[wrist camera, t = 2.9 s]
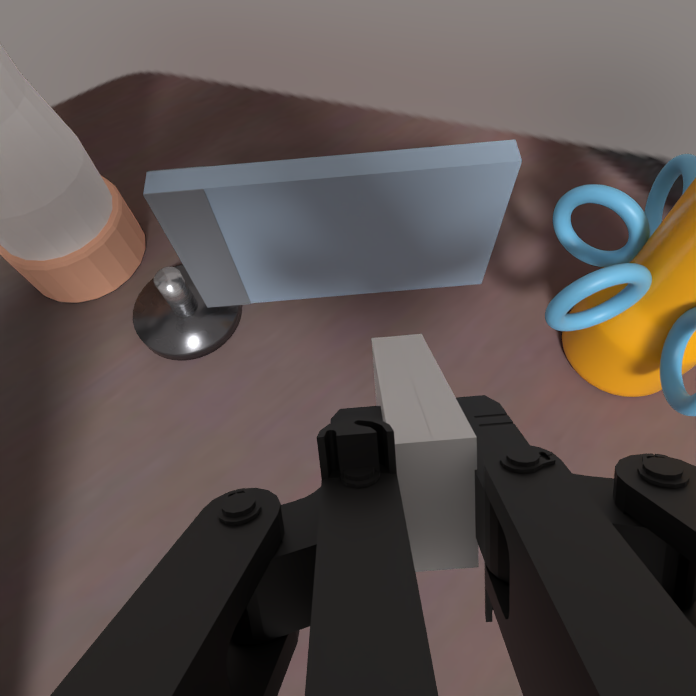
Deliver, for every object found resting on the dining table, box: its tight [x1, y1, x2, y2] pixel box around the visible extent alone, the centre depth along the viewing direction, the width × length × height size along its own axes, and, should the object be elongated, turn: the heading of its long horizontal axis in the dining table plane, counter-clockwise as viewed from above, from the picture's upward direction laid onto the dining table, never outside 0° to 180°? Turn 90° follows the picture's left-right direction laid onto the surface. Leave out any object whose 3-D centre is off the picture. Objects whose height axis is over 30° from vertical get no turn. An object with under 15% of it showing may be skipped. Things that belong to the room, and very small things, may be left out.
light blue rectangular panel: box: [143, 140, 522, 308], centre depth 24 cm, size 15×1×8 cm, turn 94°
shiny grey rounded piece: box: [133, 265, 242, 360], centre depth 27 cm, size 6×6×4 cm
